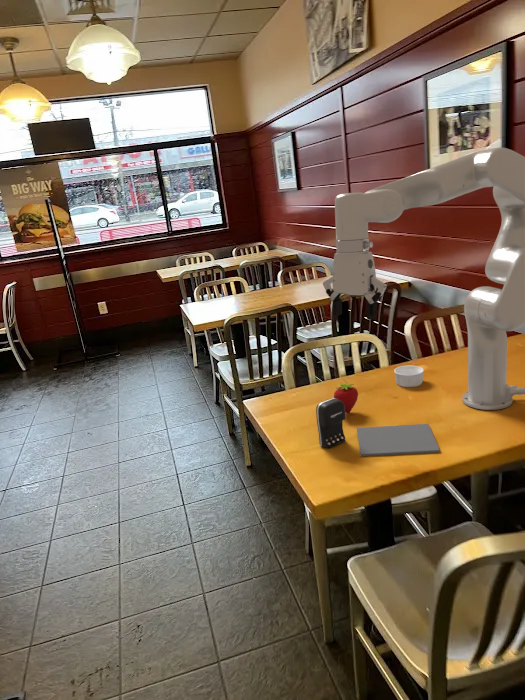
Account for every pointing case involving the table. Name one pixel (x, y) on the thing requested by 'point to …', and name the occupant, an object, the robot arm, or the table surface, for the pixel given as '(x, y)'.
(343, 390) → the strawberry
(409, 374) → the ramekin
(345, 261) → the robot arm
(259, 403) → the table surface
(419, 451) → the mat
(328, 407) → the battery charger
